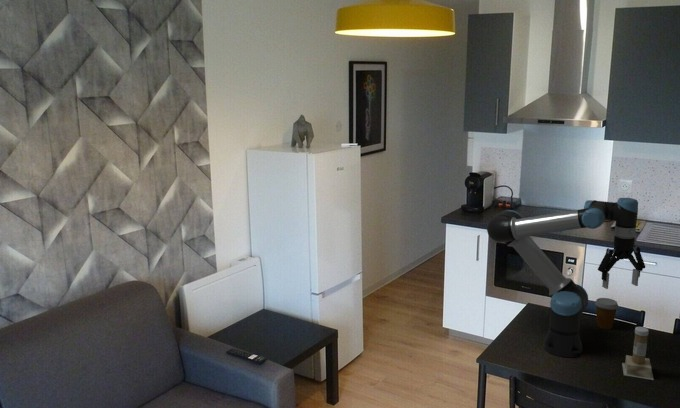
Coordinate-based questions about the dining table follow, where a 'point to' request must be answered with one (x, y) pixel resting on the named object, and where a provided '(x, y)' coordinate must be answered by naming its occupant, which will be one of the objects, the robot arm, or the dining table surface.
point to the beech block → (638, 367)
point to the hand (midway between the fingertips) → (619, 286)
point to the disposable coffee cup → (605, 312)
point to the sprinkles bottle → (640, 345)
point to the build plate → (633, 375)
